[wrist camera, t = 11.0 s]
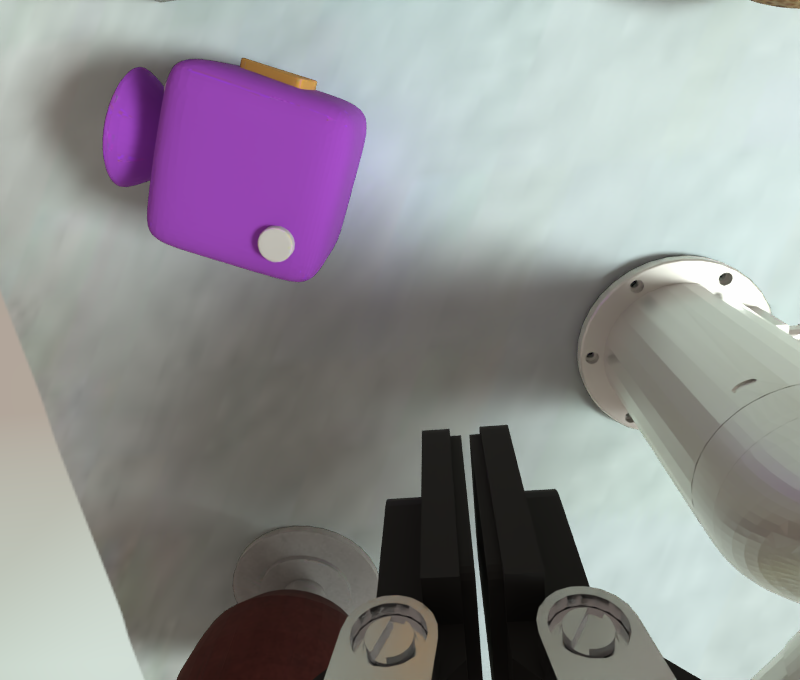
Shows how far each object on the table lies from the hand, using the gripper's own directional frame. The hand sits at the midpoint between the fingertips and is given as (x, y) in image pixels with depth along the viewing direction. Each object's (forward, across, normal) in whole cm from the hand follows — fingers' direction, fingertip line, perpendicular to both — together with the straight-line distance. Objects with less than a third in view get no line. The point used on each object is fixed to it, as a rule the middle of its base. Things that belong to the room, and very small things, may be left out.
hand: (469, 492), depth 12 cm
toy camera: (+29, +11, -5) cm, 32 cm away
